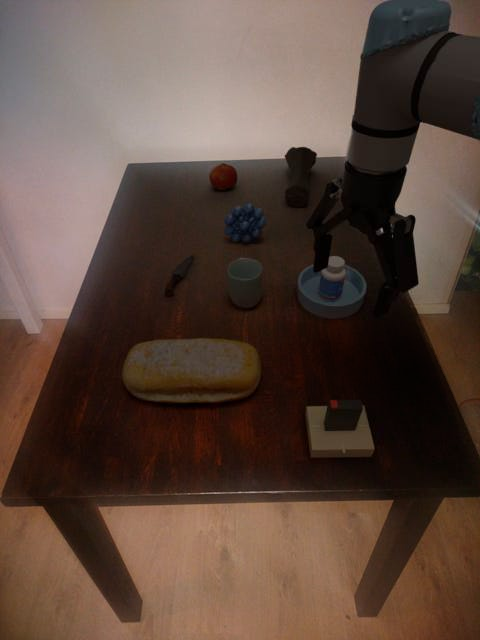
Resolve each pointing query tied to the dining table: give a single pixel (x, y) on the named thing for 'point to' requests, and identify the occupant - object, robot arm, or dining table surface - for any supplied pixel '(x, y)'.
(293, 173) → the scalloped vase
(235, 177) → the tomato
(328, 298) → the pill bottle
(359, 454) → the tan flat block
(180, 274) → the knife
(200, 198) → the dining table surface
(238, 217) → the grapes
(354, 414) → the black block red label
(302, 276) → the shallow blue dish
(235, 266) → the cup
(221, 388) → the bread
